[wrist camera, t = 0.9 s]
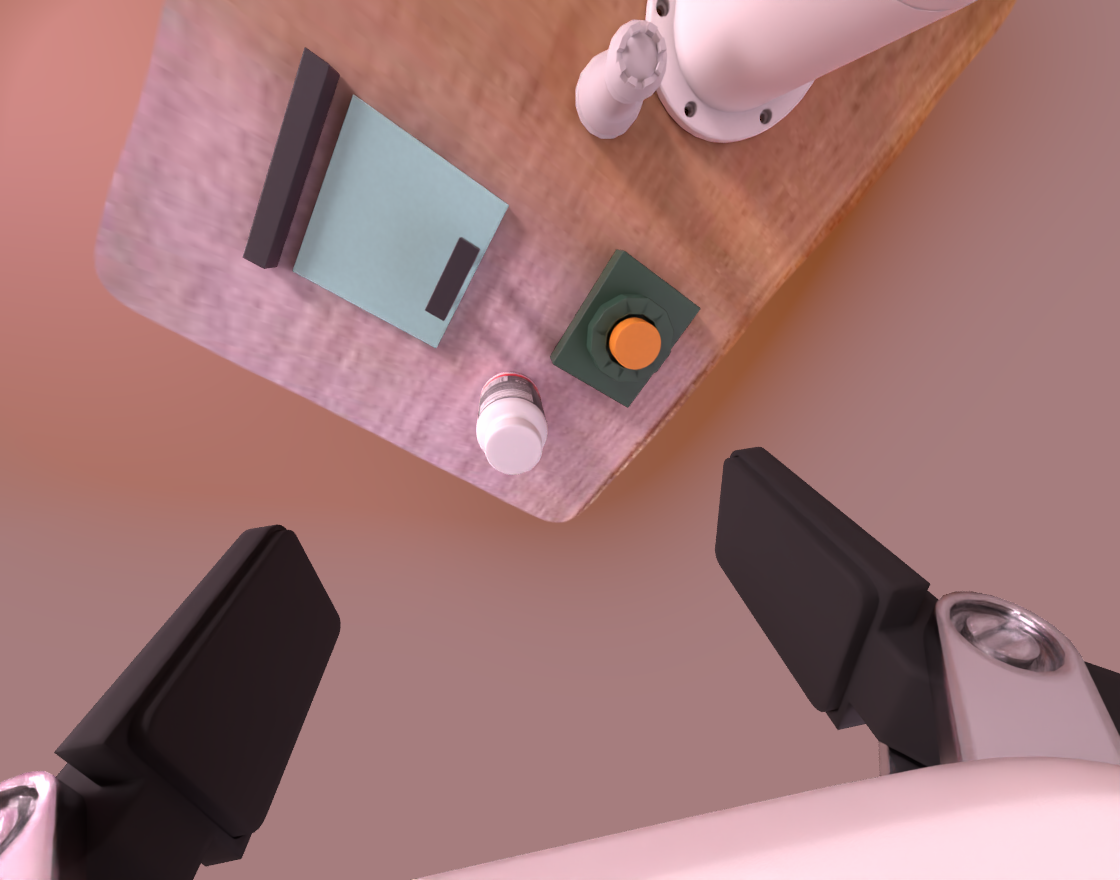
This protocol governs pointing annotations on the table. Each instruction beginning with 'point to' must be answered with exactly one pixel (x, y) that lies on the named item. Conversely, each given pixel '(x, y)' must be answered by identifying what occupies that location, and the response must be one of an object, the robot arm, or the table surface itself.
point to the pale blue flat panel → (396, 226)
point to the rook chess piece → (621, 79)
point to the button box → (608, 303)
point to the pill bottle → (511, 423)
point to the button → (635, 343)
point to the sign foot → (291, 159)
